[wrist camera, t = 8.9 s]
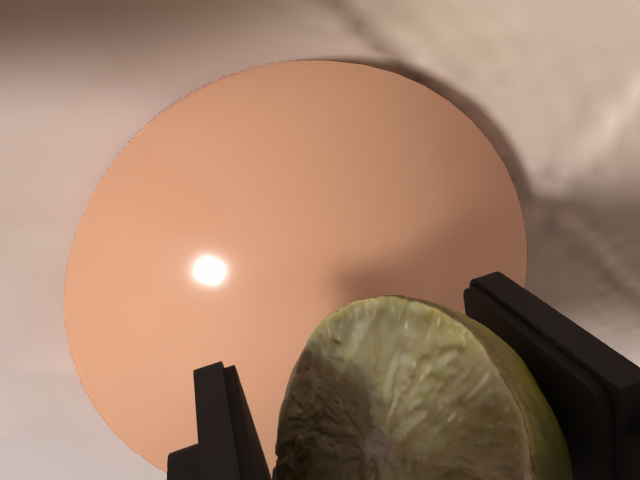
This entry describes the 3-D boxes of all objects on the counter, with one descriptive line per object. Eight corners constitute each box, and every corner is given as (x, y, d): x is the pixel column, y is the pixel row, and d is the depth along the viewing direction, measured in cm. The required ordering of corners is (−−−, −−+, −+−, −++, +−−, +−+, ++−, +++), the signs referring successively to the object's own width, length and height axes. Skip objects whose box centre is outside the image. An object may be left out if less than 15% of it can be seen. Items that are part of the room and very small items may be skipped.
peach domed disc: (521, 395, 18) (540, 413, 17) (161, 528, 16) (160, 557, 15) (486, 10, 14) (508, 7, 13) (-16, 132, 12) (-31, 138, 11)
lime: (268, 493, 12) (333, 789, 7) (236, 284, 10) (294, 491, 5) (463, 442, 12) (633, 674, 8) (465, 243, 11) (683, 388, 6)
